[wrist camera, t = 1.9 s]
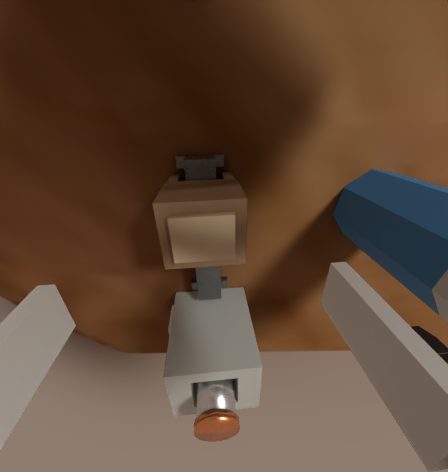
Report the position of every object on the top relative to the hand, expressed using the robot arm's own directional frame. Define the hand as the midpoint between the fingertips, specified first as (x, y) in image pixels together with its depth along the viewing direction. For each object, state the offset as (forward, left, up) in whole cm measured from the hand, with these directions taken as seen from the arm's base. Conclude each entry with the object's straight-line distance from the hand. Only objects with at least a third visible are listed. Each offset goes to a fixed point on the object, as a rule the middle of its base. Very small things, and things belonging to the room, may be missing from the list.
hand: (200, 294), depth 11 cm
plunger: (+19, 0, -7) cm, 20 cm away
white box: (+19, 0, -17) cm, 25 cm away
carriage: (+1, 0, -17) cm, 17 cm away
